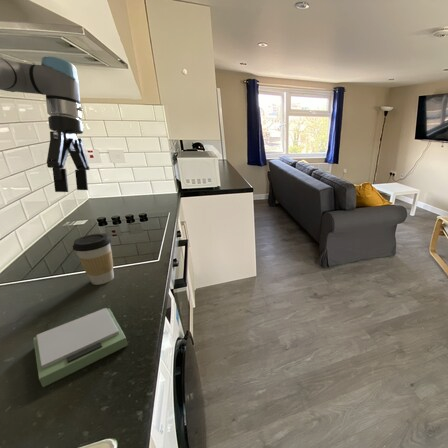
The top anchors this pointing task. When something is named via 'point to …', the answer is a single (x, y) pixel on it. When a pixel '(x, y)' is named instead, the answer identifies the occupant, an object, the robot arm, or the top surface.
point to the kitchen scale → (77, 345)
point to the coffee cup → (95, 257)
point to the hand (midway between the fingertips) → (73, 191)
